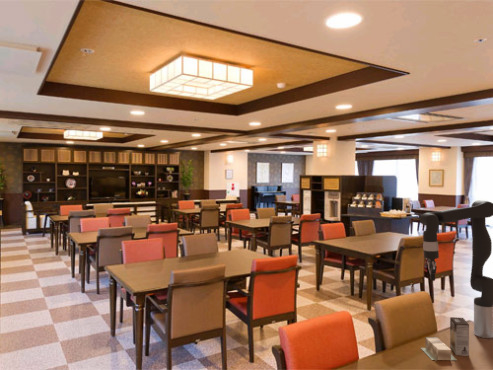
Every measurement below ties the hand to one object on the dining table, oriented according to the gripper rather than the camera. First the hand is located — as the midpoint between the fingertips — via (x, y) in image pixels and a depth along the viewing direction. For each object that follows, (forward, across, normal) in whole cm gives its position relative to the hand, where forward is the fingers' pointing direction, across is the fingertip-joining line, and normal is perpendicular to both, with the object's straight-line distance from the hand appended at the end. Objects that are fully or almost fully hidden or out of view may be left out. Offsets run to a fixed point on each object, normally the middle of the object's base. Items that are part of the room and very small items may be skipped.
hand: (432, 280), depth 209 cm
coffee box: (+32, -16, -8) cm, 37 cm away
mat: (+32, -22, +3) cm, 38 cm away
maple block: (+29, -14, +5) cm, 32 cm away
